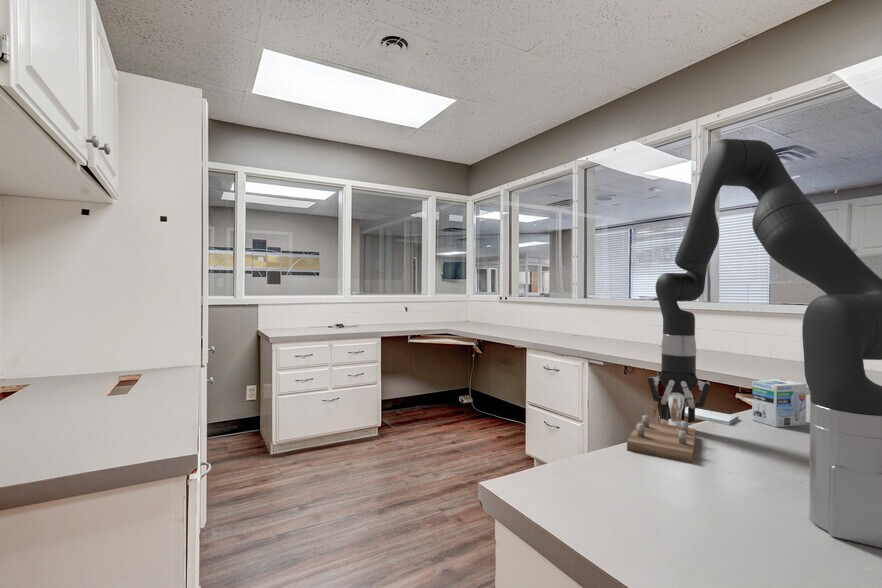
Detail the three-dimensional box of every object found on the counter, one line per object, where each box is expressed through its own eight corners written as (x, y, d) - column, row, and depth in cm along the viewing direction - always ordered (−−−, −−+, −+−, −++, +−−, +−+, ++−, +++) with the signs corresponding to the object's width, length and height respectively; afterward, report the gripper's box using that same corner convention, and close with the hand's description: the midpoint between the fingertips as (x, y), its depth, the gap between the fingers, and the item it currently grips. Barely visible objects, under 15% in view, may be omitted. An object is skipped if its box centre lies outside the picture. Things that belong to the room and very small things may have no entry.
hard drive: (738, 415, 114) (688, 405, 123) (729, 421, 108) (677, 410, 118) (738, 421, 114) (688, 411, 123) (729, 427, 108) (677, 416, 118)
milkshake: (693, 431, 103) (693, 390, 103) (669, 429, 104) (669, 389, 104) (686, 425, 107) (686, 386, 107) (663, 424, 108) (663, 385, 108)
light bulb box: (776, 428, 107) (776, 385, 107) (750, 420, 113) (751, 380, 113) (807, 425, 109) (807, 383, 110) (780, 417, 116) (780, 378, 116)
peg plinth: (692, 462, 83) (692, 439, 83) (627, 449, 90) (627, 428, 90) (695, 437, 98) (695, 418, 98) (639, 428, 105) (639, 410, 105)
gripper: (644, 351, 106) (644, 419, 106) (712, 356, 99) (711, 429, 99) (648, 348, 113) (648, 412, 113) (712, 353, 105) (711, 422, 105)
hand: (677, 420), depth 106 cm, fingers open, 4 cm apart
